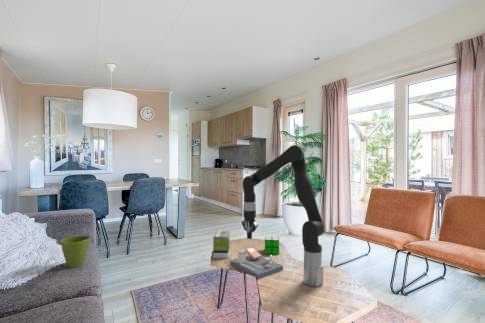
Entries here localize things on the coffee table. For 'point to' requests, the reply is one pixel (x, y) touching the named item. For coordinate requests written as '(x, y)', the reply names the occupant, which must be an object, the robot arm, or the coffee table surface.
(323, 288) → the coffee table surface
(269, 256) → the toggle lever
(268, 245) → the puzzle cube
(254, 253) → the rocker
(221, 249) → the tea box
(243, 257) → the slider knob
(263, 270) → the control board
